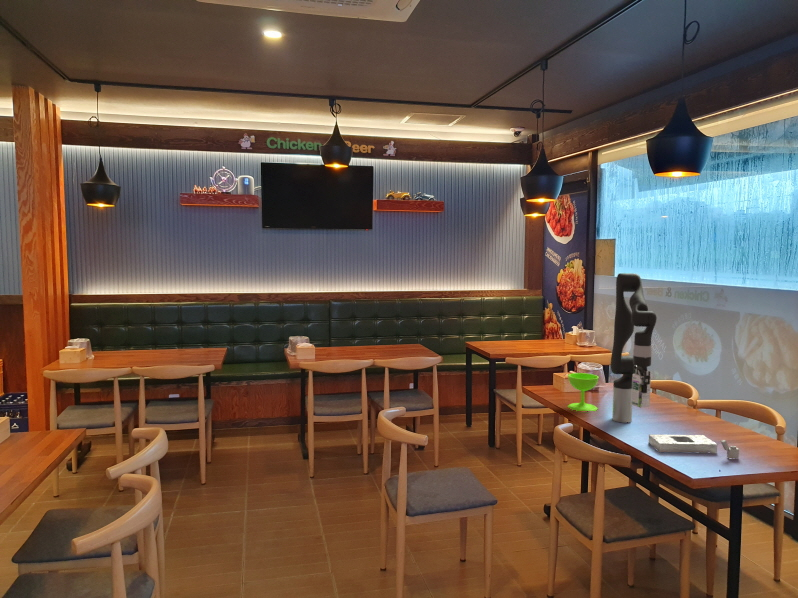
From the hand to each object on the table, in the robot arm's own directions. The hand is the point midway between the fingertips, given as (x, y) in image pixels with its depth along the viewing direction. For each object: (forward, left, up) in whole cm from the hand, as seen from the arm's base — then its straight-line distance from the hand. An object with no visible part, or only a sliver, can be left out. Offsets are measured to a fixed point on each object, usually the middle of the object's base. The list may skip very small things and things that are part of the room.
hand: (640, 390), depth 258 cm
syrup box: (0, 0, -7) cm, 7 cm away
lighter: (+23, +29, -23) cm, 43 cm away
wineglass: (-52, -11, -23) cm, 58 cm away
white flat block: (+11, +15, -23) cm, 29 cm away
